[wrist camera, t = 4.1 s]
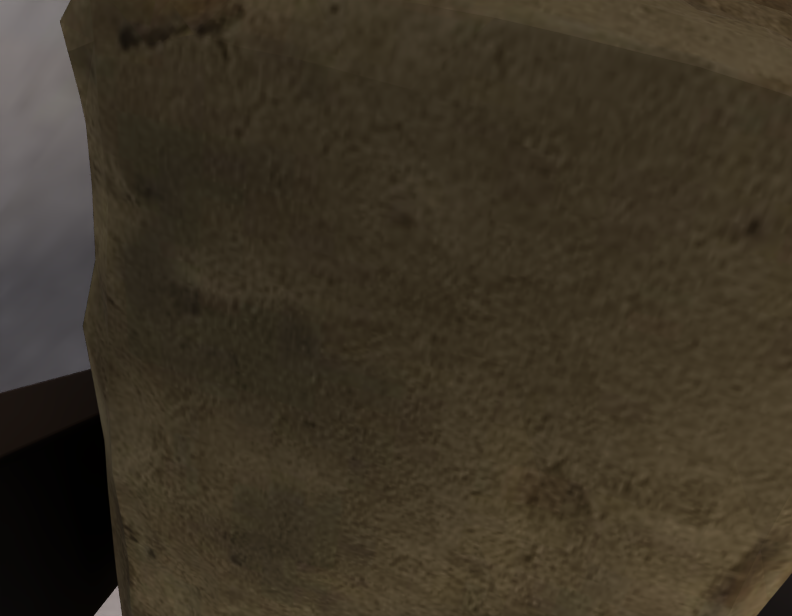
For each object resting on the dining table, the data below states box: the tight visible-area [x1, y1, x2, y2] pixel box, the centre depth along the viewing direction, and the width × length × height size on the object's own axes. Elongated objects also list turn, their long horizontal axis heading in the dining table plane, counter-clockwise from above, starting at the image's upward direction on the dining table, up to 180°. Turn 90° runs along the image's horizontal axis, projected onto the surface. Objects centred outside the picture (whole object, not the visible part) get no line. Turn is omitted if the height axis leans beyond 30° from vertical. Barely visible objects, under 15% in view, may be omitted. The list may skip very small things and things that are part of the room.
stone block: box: [60, 0, 792, 616], centre depth 8 cm, size 6×12×5 cm, turn 173°
